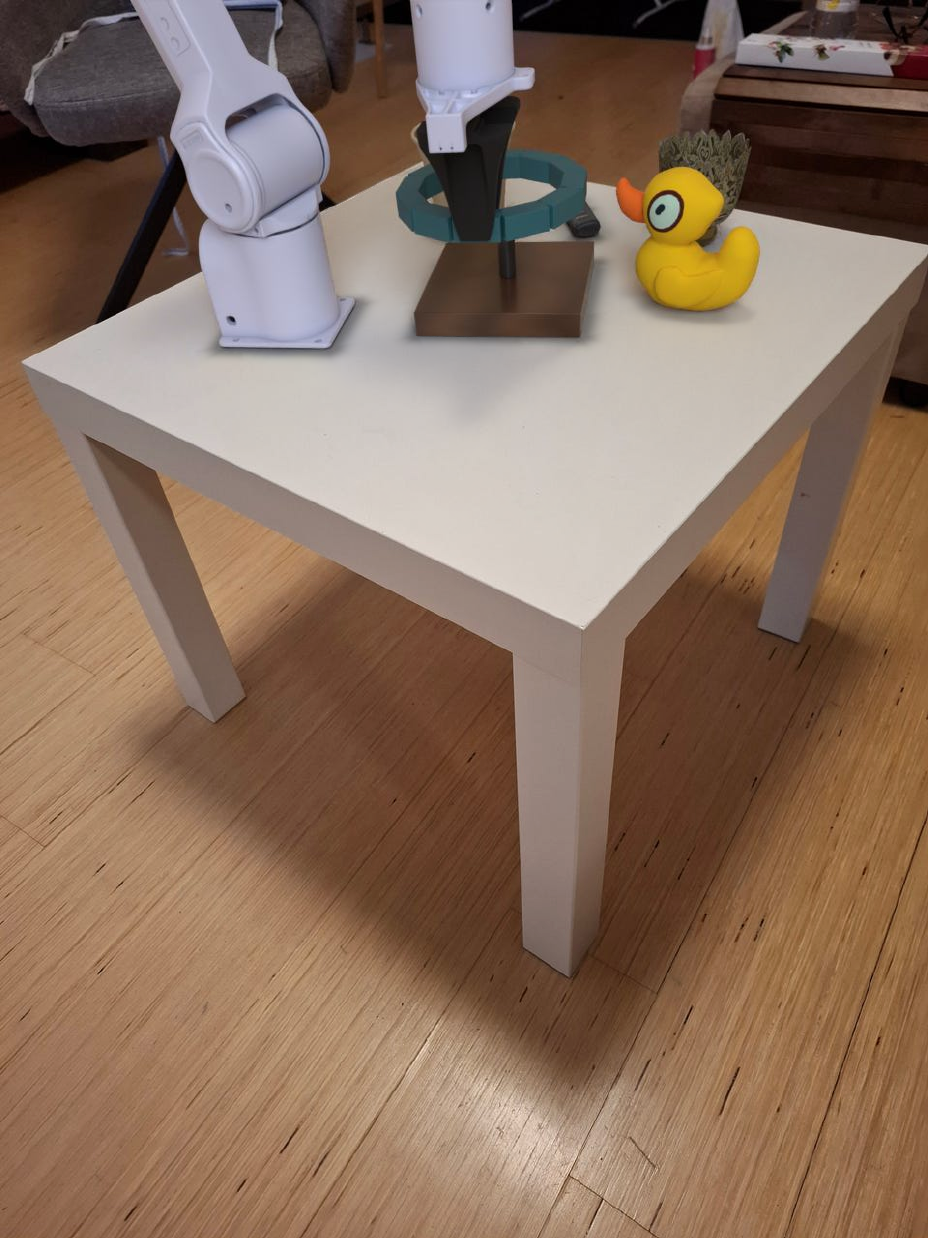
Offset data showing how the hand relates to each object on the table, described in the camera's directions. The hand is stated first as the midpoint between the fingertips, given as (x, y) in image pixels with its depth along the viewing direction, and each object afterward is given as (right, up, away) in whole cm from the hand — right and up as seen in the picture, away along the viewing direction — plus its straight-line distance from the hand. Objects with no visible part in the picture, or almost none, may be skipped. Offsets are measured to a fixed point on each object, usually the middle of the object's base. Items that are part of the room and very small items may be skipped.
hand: (478, 231), depth 58 cm
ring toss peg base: (+3, +1, +14) cm, 15 cm away
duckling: (+16, -1, +11) cm, 20 cm away
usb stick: (+10, +12, +25) cm, 29 cm away
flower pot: (0, +12, +26) cm, 28 cm away
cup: (+20, +8, +19) cm, 28 cm away
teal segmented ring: (+1, +4, +4) cm, 6 cm away
